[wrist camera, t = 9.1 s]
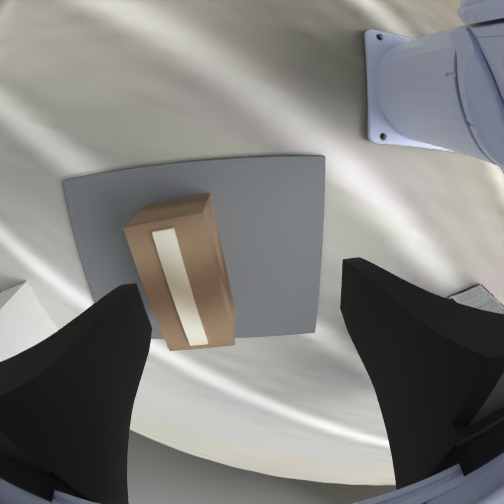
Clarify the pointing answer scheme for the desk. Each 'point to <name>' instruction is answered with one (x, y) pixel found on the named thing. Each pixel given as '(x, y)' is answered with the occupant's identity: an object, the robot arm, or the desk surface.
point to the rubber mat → (229, 227)
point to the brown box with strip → (184, 272)
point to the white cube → (22, 321)
